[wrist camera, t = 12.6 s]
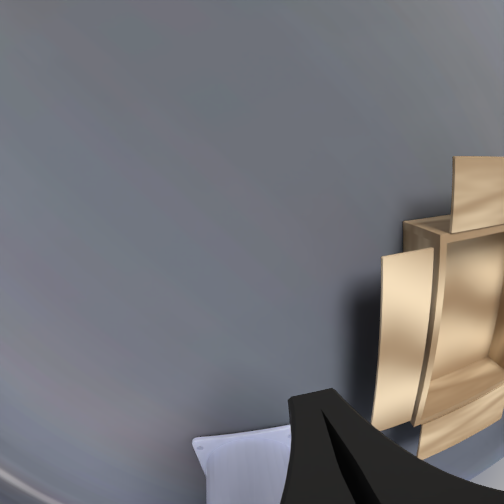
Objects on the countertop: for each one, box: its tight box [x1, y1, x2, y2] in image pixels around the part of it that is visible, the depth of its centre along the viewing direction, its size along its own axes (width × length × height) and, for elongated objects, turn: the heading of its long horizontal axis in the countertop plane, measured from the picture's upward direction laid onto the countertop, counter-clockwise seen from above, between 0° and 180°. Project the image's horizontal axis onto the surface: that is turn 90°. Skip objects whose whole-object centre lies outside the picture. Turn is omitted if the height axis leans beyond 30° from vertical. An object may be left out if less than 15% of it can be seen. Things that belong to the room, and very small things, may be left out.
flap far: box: [416, 384, 504, 460], centre depth 19 cm, size 1×10×4 cm
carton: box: [371, 215, 504, 431], centre depth 19 cm, size 14×18×4 cm
